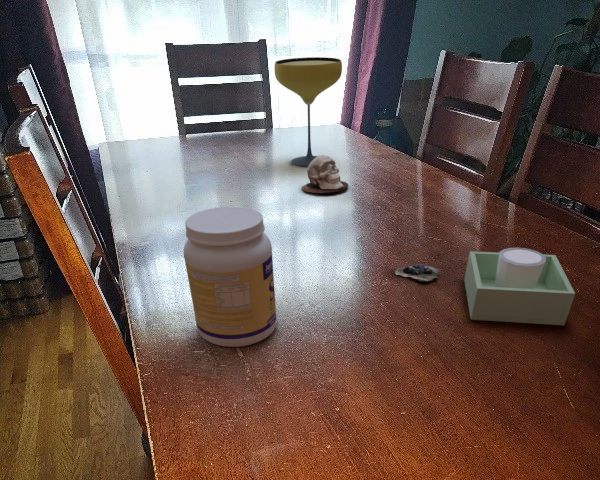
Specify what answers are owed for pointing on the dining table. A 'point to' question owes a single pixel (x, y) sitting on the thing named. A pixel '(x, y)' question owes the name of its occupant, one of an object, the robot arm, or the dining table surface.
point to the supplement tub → (230, 275)
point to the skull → (323, 176)
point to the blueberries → (418, 272)
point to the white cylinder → (519, 268)
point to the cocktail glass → (308, 85)
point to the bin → (517, 293)
